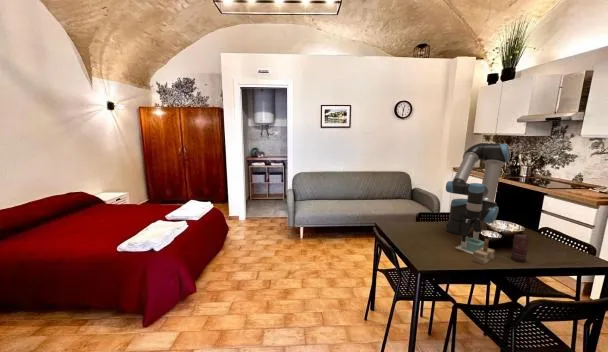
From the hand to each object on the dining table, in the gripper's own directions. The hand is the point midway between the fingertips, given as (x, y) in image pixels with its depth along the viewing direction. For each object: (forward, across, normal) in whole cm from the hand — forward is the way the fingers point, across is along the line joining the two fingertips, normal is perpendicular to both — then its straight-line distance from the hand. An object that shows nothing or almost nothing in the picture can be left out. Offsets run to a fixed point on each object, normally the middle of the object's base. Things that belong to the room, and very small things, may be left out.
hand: (469, 244), depth 155 cm
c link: (+2, 0, +2) cm, 3 cm away
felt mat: (+2, 0, +2) cm, 4 cm away
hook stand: (+2, +9, +12) cm, 15 cm away
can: (+3, -8, +22) cm, 23 cm away
